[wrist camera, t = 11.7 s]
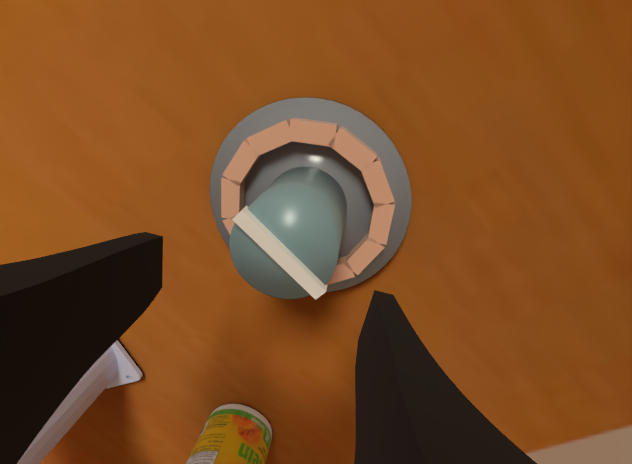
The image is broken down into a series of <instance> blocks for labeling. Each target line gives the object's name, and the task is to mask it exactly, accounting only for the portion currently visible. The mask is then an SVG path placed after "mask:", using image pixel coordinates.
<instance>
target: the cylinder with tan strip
mask: <svg viewBox="0 0 632 464" xmlns="http://www.w3.org/2000/svg"><path fill="white" fill-rule="evenodd" d="M346 214H347V201H346V197H345V194H344V192H343V189H342V188H341V186H340V185H339V183H338V182H337V181H336V180H335V179H334V178H333V177H332V176H331V175H329V174H328V173H326V172H324V171H322V170H320V169H317V168H313V167H296V168H292V169H290V170H287V171H285V172H284V173H282V174H281V175H280V176H278V177H277V178H276V179H275V180H274V181H273V182H272V183H271V184H270V185H269V186H268V187H267V189H266V190H265V191H264V192H263V193H262V194H261V195H260V196H259V197H258V198H257V199H256V200H255V201H254V202H253V203H252V204H251V205H250V206H249V207H248V206H247V205H246V206H245V207H244V208H243V209H242V210H241V211H240V212H239V213H238V214H237V215H236V216H235V217H234V218H233V219H232V220H233V221H234V222H235V223H234V226H233V228H232V230H231V234H230V241H229V247H230V254H231V258H232V261H233V263H234V265H235V267H236V269H237V271H238V272H239V274H240V275H241V276H242V277H243V279H244V280H245V281H246V282H247V283H249V284H250V285H251V286H252V287H254V288H255V289H257V290H258V291H260V292H262V293H264V294H267V295H269V296H272V297H276V298H281V299H298V298H303V297H306V296H309V295H311V296H312V297H313V298H314V299H315V300H316V299H317V298H319V297H320V296H321V295H323V294H324V293H325V292H326V290H327V286H328V285H327V283H328V281H329V280H330V279H331V277H332V275H333V273H334V271H335V268H336V264H337V260H338V255H339V249H340V244H341V239H342V234H343V229H344V224H345V219H346Z"/></svg>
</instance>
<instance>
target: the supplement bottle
mask: <svg viewBox="0 0 632 464" xmlns="http://www.w3.org/2000/svg"><path fill="white" fill-rule="evenodd" d="M271 441H272V428H271V426H270V424H269V422H268V421H267V419H266V418H265V417H264V416H263V415H262V414H261V413H259V412H258V411H256V410H255V409H253V408H251V407H248V406H245V405H241V404H226V405H222V406H220V407H218V408H216V409H215V410H214V411H213V412H212V413H211V415H210V416H209V418H208V420H207V422H206V424H205V426H204V428H203V430H202V432H201V434H200V436H199V438H198V440H197V442H196V444H195V446H194V448H193V450H192V452H191V454H190V457H189V459H188V461H187V463H186V464H265V462H266V458H267V455H268V452H269V448H270V444H271Z"/></svg>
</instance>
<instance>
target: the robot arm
mask: <svg viewBox="0 0 632 464" xmlns="http://www.w3.org/2000/svg"><path fill="white" fill-rule="evenodd" d="M162 257H163V236H159V235H155V234H151V233H147V232H143V233H138V234H133V235H128V236H124V237H120V238H117V239H113V240H109V241H105V242H101V243H98V244H94V245H90V246H86V247H83V248H79V249H75V250H70V251H66V252H62V253H58V254H53V255H49V256H45V257H41V258H36V259H31V260H26V261H20V262H15V263H9V264H3V265H0V464H40V463H41V462H42V461H43V459H44V458H45V457H46V456H47V455H48V454H49V453H50V451H51V450H52V449H53V448H54V447H55V446H56V445H57V443H58V442H59V441H60V440H61V439H62V438H63V436H64V435H65V434H66V433H67V432H68V431H69V430H70V428H71V427H72V426H73V425H74V424H75V423H76V422H77V420H78V419H79V418H80V417H81V416H82V415H83V413H84V412H85V411H86V410H87V409H88V408H89V407H90V405H91V404H92V403H93V402H94V401H95V400H96V398H97V397H98V396H99V395H100V394H101V393H102V392H103V390H104V389H107V388H111V387H115V386H119V385H123V384H127V383H132V382H136V381H139V380H140V379H141V377H142V376H143V374H142V372H141V370H140V369H139V368H138V366H137V365H136V364H135V363H134V361H133V360H132V359H131V357H130V356H129V355H128V353H127V352H126V351H125V349H124V348H123V347H122V345H121V344H120V343H119V341H118V339H119V338H120V336H121V335H122V334H123V333H124V332H125V331H126V330H127V329H128V328H129V327H130V326H131V325H132V324H133V323H134V322H135V321H136V320H137V319H138V318H139V317H140V316H141V315H142V314H143V312H144V311H145V310H146V309H147V308H148V306H149V305H150V304H151V302H152V301H153V300H154V298H155V297H156V295H157V294H158V292H159V291H160V290H161V288H162ZM355 389H356V450H355V462H354V464H537V463H535V462H534V461H533V460H532V459H531V458H530V457H528V456H527V455H526V454H525V453H524V452H523V451H522V450H520V449H519V448H518V447H517V446H516V445H515V444H513V443H512V442H511V441H510V440H509V439H508V438H507V437H506V436H505V435H503V434H502V433H501V432H500V431H499V430H498V429H497V428H496V427H495V426H494V425H493V424H492V423H491V422H490V421H489V420H488V419H487V418H486V417H485V416H484V415H483V414H482V413H481V412H480V411H479V410H478V409H477V408H476V407H475V406H474V405H473V404H472V403H471V402H470V401H469V400H468V399H467V398H466V397H465V396H464V395H463V394H462V393H461V391H460V390H459V389H458V388H457V387H456V386H455V384H454V383H453V382H452V381H451V380H450V379H449V377H448V376H447V375H446V374H445V373H444V371H443V370H442V369H441V368H440V366H439V365H438V364H437V362H436V361H435V360H434V358H433V357H432V356H431V354H430V353H429V352H428V350H427V349H426V347H425V346H424V344H423V343H422V342H421V340H420V339H419V337H418V336H417V334H416V332H415V331H414V329H413V328H412V326H411V324H410V323H409V321H408V319H407V318H406V316H405V314H404V313H403V311H402V309H401V307H400V306H399V304H398V302H397V301H396V299H395V297H394V296H393V295H391V294H387V293H383V292H379V291H375V290H374V294H373V297H372V300H371V303H370V306H369V309H368V312H367V315H366V318H365V321H364V324H363V327H362V330H361V333H360V336H359V340H358V348H357V357H356V366H355Z"/></svg>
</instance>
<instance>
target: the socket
mask: <svg viewBox="0 0 632 464" xmlns="http://www.w3.org/2000/svg"><path fill="white" fill-rule="evenodd" d="M296 167H313V168H317V169H320V170H322V171H324V172H326V173H328V174H329V175H331V176H332V177H333V178H334V179H335V180H336V181H337V182H338V183H339V185H340V186H341V188H342V189H343V192H344V194H345V197H346V201H347V214H346V219H345V224H344V229H343V234H342V239H341V244H340V249H339V255H338V260H337V264H336V268H335V271H334V273H333V275H332V277H331V279H330V280H329V281H328V283H327V285H328V286H327V290H326V292H332V291H337V290H342V289H345V288H348V287H351V286H354V285H356V284H358V283H360V282H363V281H365V280H366V279H368V278H369V277H371V276H372V275H374V274H375V273H377V272H378V271H379V270H380V269H381V268H382V267H384V266H385V265H386V264H387V262H388V261H389V260H390V259H391V258H392V257H393V255H394V254H395V252H396V251H397V249H398V248H399V246H400V244H401V242H402V240H403V238H404V236H405V233H406V230H407V227H408V224H409V219H410V213H411V189H410V182H409V178H408V174H407V171H406V168H405V165H404V163H403V160H402V158H401V156H400V153H399V152H398V150H397V148H396V147H395V145H394V143H393V142H392V140H391V139H390V138H389V137H388V135H387V134H386V133H385V132H384V130H382V129H381V128H380V127H379V126H378V125H377V124H376V123H375V122H374V121H373V120H371V119H370V118H369V117H367V116H366V115H364V114H363V113H362V112H360V111H358V110H356V109H354V108H352V107H350V106H348V105H345V104H342V103H340V102H337V101H333V100H328V99H323V98H313V97H301V98H291V99H287V100H283V101H278V102H274V103H272V104H269V105H267V106H264V107H262V108H260V109H258V110H256V111H255V112H253V113H251V114H249V115H248V116H247V117H246V118H244V119H243V120H242V121H241V122H239V123H238V124H237V125H236V126H235V128H234V129H233V130H232V131H231V132H230V133H229V134H228V136H227V137H226V139H225V140H224V142H223V143H222V145H221V147H220V149H219V151H218V153H217V155H216V158H215V161H214V164H213V168H212V173H211V178H210V200H211V207H212V211H213V216H214V219H215V222H216V224H217V227H218V229H219V231H220V233H221V235H222V238H223V239H224V241H225V242H226V244H227V245H228V247H229V241H230V234H231V230H232V228H233V226H234V223H235V222H234V221H233V220H232V219H233V218H234V217H235V216H236V215H237V214H238V213H239V212H240V211H241V210H242V209H243V208H244V207H245V206H246V205H247V206H248V207H249V206H250V205H251V204H252V203H253V202H254V201H255V200H256V199H257V198H258V197H259V196H260V195H261V194H262V193H263V192H264V191H265V190H266V189H267V187H268V186H269V185H270V184H271V183H272V182H273V181H274V180H275V179H276V178H277V177H278V176H280V175H281V174H282V173H284V172H285V171H287V170H290V169H292V168H296ZM229 248H230V247H229Z"/></svg>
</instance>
